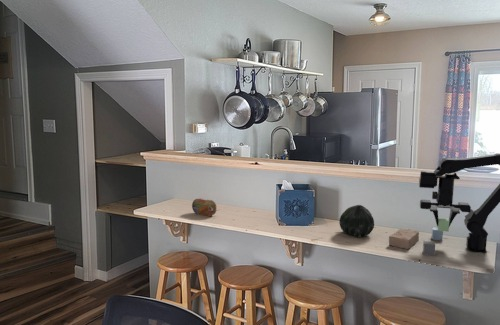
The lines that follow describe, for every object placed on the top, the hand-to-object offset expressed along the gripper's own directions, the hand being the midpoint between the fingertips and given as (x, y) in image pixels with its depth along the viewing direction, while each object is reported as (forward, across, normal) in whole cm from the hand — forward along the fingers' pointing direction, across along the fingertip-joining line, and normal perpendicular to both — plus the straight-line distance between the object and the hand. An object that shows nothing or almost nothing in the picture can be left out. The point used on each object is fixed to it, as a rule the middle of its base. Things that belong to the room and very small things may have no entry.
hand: (443, 226), depth 181 cm
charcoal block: (+9, +6, +11) cm, 15 cm away
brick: (+9, +15, 0) cm, 17 cm away
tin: (+9, +114, -14) cm, 115 cm away
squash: (+9, +35, -5) cm, 36 cm away
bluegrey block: (+9, +1, -10) cm, 13 cm away
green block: (+2, 0, 0) cm, 2 cm away
